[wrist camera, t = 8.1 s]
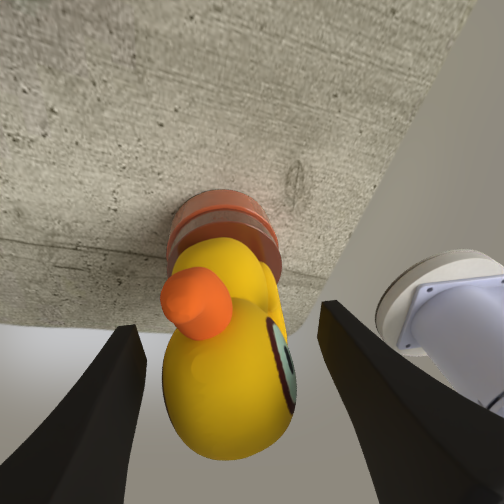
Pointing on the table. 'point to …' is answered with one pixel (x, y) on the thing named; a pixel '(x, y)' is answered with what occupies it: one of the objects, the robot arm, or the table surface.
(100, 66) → the table surface
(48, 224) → the table surface
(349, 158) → the table surface
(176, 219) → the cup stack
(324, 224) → the table surface
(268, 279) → the duckling
